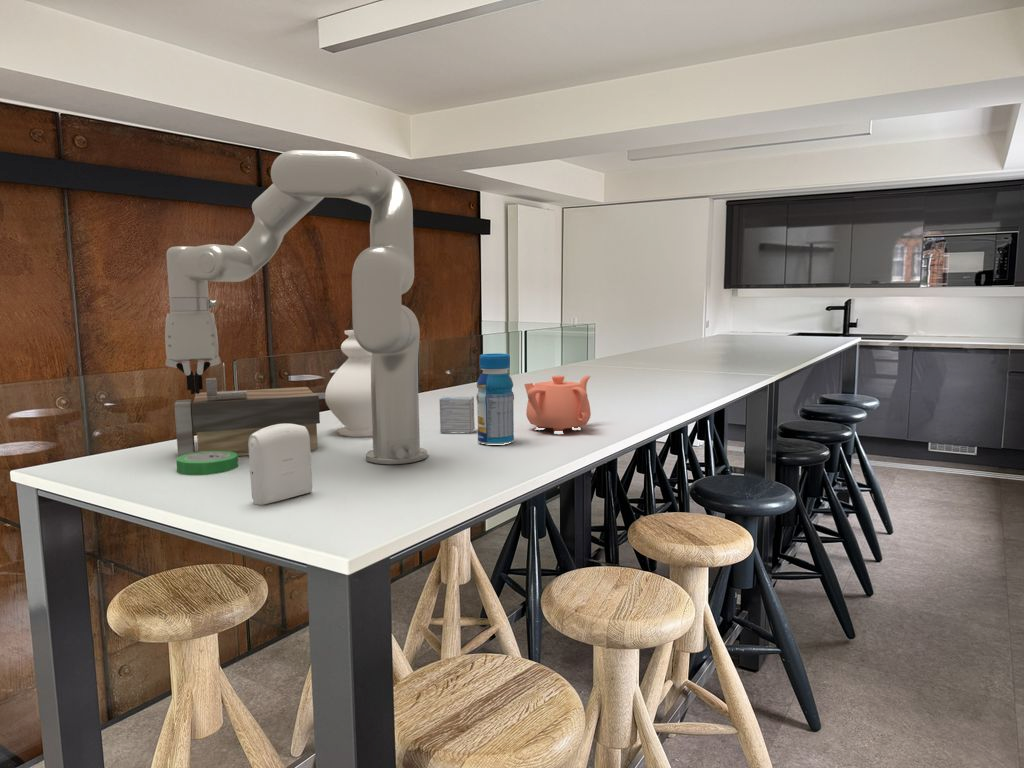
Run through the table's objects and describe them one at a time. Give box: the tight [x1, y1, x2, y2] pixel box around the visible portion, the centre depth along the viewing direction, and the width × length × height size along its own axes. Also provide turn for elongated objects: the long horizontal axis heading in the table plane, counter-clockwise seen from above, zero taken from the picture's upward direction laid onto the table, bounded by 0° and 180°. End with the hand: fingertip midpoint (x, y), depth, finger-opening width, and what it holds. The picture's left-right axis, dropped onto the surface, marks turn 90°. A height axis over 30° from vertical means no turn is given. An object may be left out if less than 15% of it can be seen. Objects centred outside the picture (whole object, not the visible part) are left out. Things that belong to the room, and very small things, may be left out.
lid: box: [192, 386, 321, 434], centre depth 161 cm, size 23×25×6 cm
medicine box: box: [439, 395, 476, 432], centre depth 175 cm, size 8×4×9 cm, turn 84°
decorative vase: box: [324, 329, 373, 438], centre depth 175 cm, size 18×18×25 cm
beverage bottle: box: [475, 352, 515, 444], centre depth 161 cm, size 8×8×20 cm
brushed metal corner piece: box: [205, 377, 247, 400], centre depth 155 cm, size 3×8×4 cm, turn 112°
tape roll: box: [176, 451, 239, 476], centre depth 141 cm, size 11×11×3 cm
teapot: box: [524, 375, 591, 431], centre depth 176 cm, size 16×17×14 cm
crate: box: [174, 399, 319, 458], centre depth 161 cm, size 20×28×11 cm
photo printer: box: [248, 424, 313, 506], centre depth 119 cm, size 10×4×12 cm, turn 140°
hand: (195, 393), depth 152 cm, fingers closed
